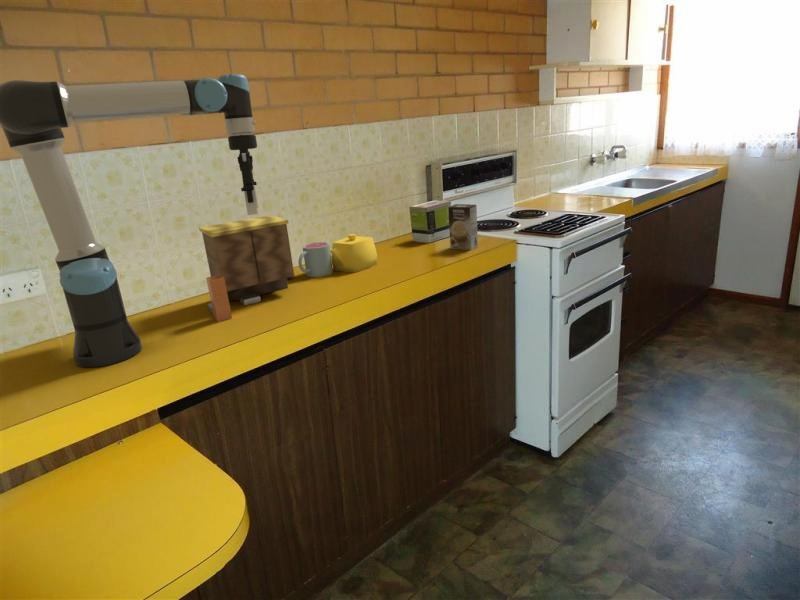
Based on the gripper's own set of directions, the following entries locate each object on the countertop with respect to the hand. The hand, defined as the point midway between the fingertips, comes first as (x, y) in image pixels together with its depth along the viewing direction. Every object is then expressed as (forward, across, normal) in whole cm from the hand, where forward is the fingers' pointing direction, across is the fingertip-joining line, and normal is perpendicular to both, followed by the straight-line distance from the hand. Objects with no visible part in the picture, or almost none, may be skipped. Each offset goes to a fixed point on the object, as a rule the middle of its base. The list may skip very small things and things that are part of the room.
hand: (253, 211), depth 164 cm
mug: (+27, +24, -17) cm, 40 cm away
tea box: (+26, +56, -69) cm, 92 cm away
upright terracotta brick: (+28, -4, +14) cm, 31 cm away
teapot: (+27, +27, -31) cm, 49 cm away
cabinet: (+27, +9, +4) cm, 29 cm away
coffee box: (+26, +32, -74) cm, 85 cm away
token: (+28, +4, +5) cm, 29 cm away
